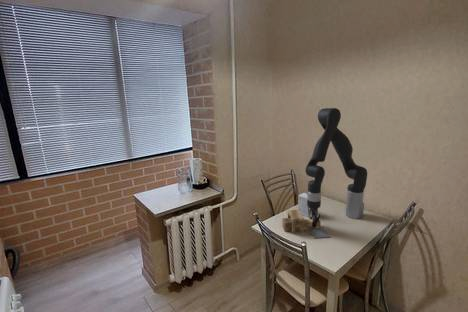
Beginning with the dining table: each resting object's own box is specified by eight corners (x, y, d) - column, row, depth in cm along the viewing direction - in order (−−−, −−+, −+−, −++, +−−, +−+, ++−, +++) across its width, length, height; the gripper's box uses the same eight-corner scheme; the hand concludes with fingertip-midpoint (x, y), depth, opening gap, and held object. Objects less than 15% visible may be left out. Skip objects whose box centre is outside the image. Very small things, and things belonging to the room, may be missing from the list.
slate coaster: (324, 228, 146) (324, 227, 146) (330, 237, 137) (330, 236, 137) (308, 229, 145) (308, 228, 145) (314, 238, 137) (314, 237, 137)
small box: (313, 214, 163) (314, 195, 160) (308, 217, 160) (308, 198, 156) (303, 210, 170) (303, 192, 166) (297, 213, 166) (298, 195, 162)
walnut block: (291, 226, 150) (291, 217, 149) (293, 231, 145) (294, 222, 144) (282, 226, 150) (282, 218, 149) (284, 231, 145) (284, 223, 144)
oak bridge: (298, 223, 153) (298, 209, 151) (303, 233, 142) (304, 218, 140) (287, 223, 153) (287, 210, 151) (292, 233, 142) (292, 219, 140)
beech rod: (318, 225, 150) (318, 218, 149) (320, 228, 146) (320, 221, 145) (291, 227, 149) (292, 220, 148) (293, 230, 146) (293, 223, 145)
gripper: (325, 203, 137) (323, 231, 141) (315, 193, 150) (314, 219, 155) (311, 204, 136) (310, 232, 141) (303, 194, 150) (303, 219, 154)
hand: (313, 225), depth 148 cm, fingers closed on beech rod, 3 cm apart
